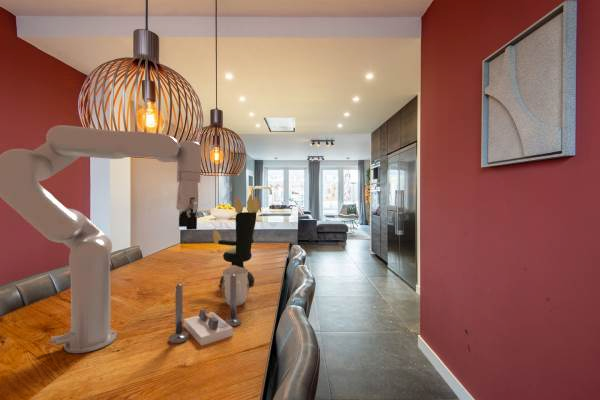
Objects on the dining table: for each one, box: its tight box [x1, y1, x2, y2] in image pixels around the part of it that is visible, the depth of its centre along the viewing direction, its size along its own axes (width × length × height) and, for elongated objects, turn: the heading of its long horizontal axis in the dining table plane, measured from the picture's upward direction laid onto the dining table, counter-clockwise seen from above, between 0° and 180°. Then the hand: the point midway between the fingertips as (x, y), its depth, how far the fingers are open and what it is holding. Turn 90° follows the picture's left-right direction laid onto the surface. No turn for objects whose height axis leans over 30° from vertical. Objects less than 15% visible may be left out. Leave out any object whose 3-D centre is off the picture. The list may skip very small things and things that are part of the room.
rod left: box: [168, 283, 190, 345], centre depth 89 cm, size 6×6×17 cm
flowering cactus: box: [212, 193, 260, 287], centre depth 143 cm, size 19×22×45 cm
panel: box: [183, 311, 234, 347], centre depth 95 cm, size 10×16×3 cm, turn 39°
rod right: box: [224, 274, 242, 328], centre depth 100 cm, size 6×6×17 cm
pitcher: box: [221, 264, 250, 307], centre depth 118 cm, size 11×18×14 cm, turn 21°
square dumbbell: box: [198, 308, 218, 329], centre depth 95 cm, size 2×12×2 cm, turn 39°
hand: (187, 227), depth 99 cm, fingers open, 9 cm apart
